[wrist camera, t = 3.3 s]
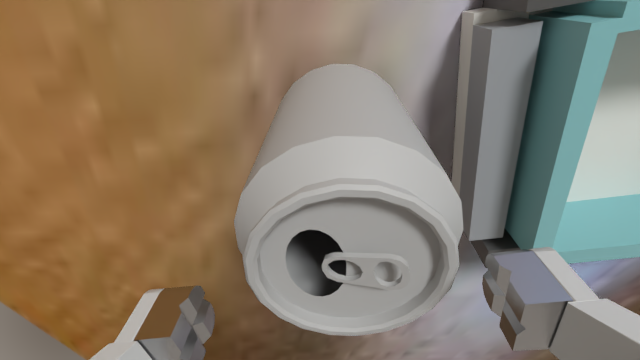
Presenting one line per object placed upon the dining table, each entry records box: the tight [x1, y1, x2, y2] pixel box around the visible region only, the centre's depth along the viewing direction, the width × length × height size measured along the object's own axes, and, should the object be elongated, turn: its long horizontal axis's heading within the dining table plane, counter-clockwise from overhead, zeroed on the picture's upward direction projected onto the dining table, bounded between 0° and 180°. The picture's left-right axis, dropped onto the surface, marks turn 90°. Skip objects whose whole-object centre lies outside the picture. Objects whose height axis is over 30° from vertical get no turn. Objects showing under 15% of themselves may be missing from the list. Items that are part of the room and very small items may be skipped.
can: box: [234, 64, 464, 336], centre depth 14 cm, size 8×8×12 cm
